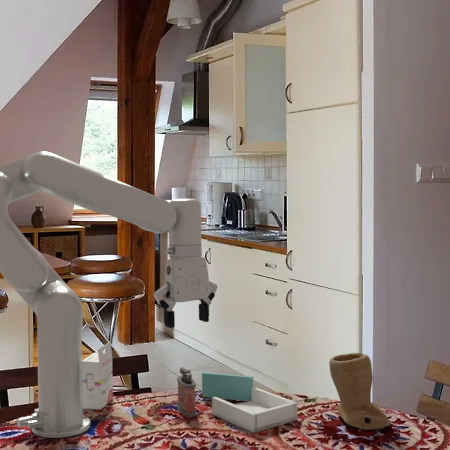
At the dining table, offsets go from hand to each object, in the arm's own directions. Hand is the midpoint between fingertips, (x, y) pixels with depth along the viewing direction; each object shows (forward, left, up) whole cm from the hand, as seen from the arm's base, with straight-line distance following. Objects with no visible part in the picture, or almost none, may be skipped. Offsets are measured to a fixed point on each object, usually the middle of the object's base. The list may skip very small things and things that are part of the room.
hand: (187, 324), depth 162 cm
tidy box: (+10, -13, -21) cm, 26 cm away
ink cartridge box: (-14, +18, -21) cm, 31 cm away
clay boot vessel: (+27, -29, -21) cm, 45 cm away
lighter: (0, 0, -21) cm, 21 cm away
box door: (+12, +1, -21) cm, 24 cm away
